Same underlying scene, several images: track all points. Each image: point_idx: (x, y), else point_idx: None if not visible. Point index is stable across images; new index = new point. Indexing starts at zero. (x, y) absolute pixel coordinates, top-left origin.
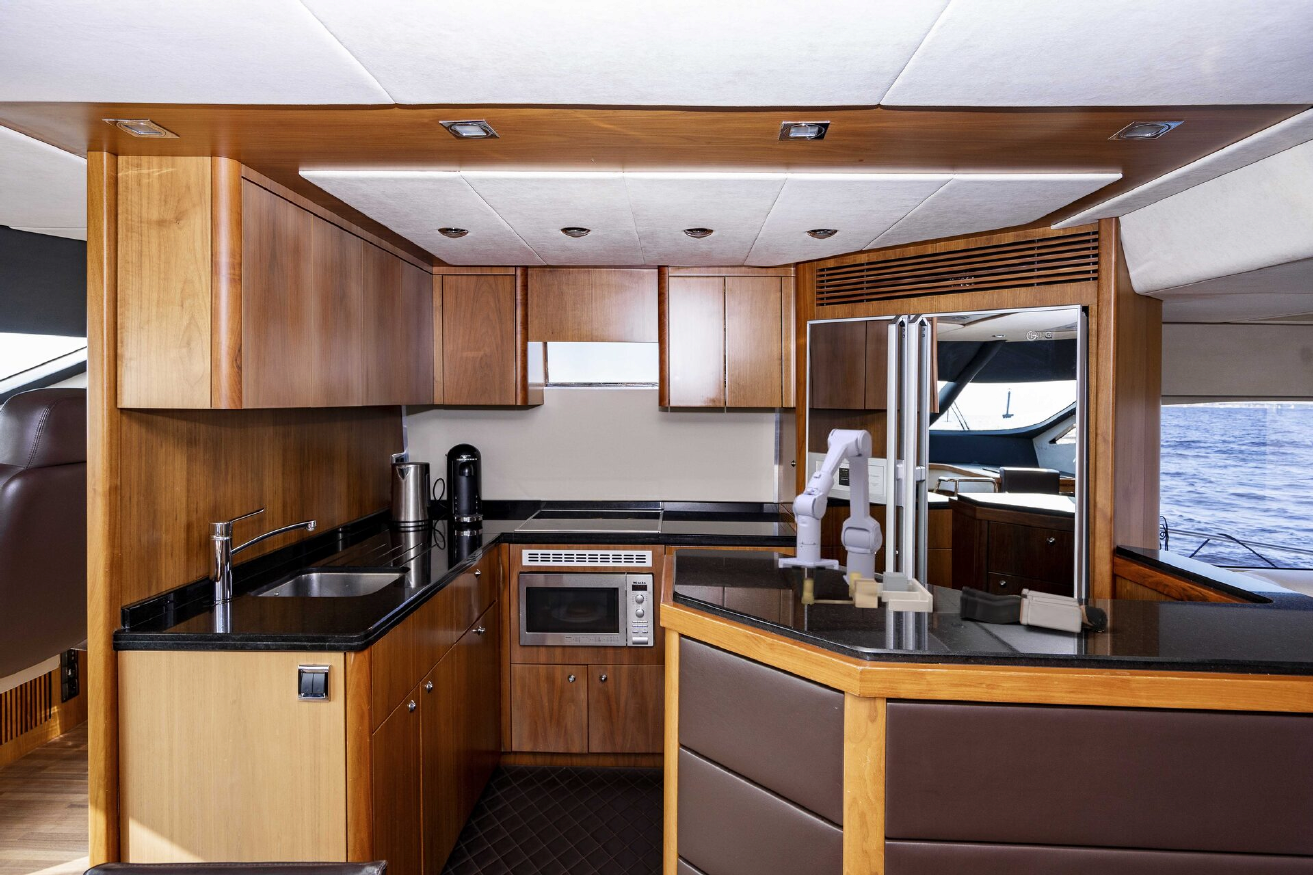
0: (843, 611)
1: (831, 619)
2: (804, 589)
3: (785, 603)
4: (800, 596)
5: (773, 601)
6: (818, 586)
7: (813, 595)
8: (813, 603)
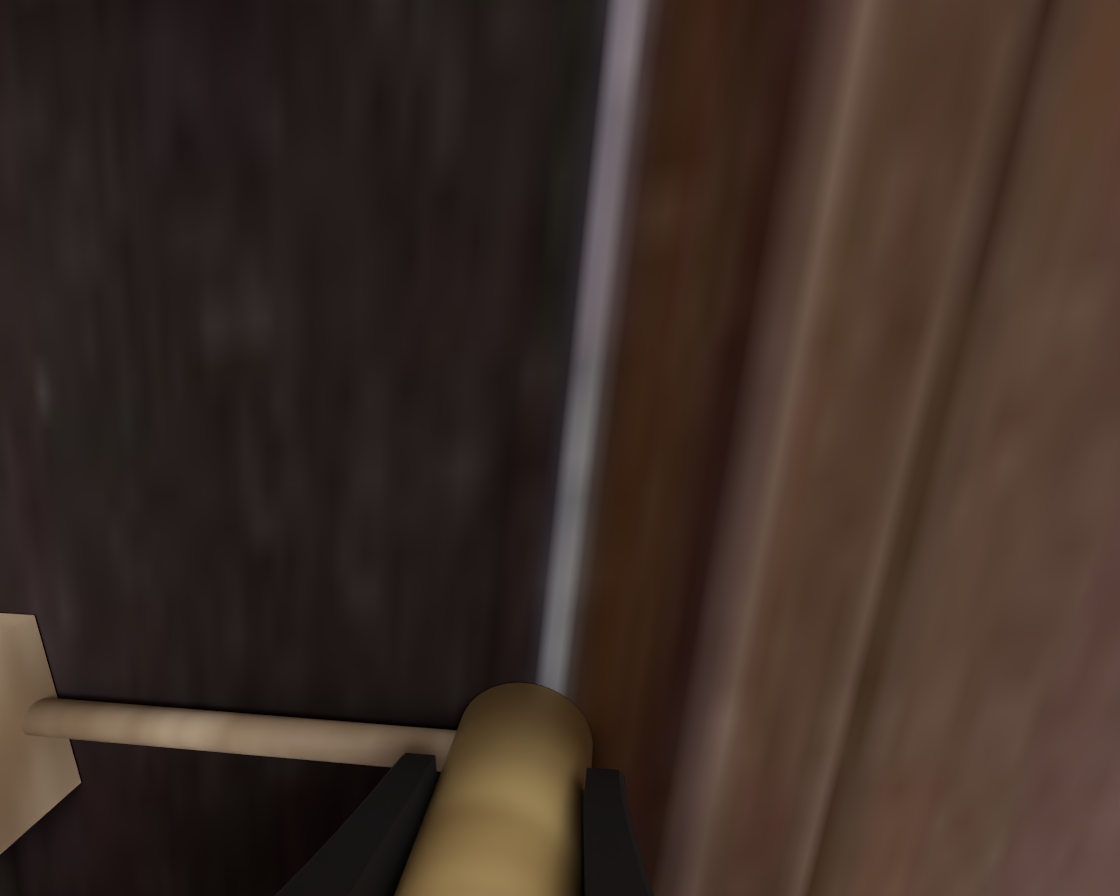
0: (148, 451)
1: (274, 60)
2: (546, 867)
3: (790, 711)
4: (611, 774)
5: (925, 780)
6: (296, 889)
7: (435, 790)
8: (463, 714)
